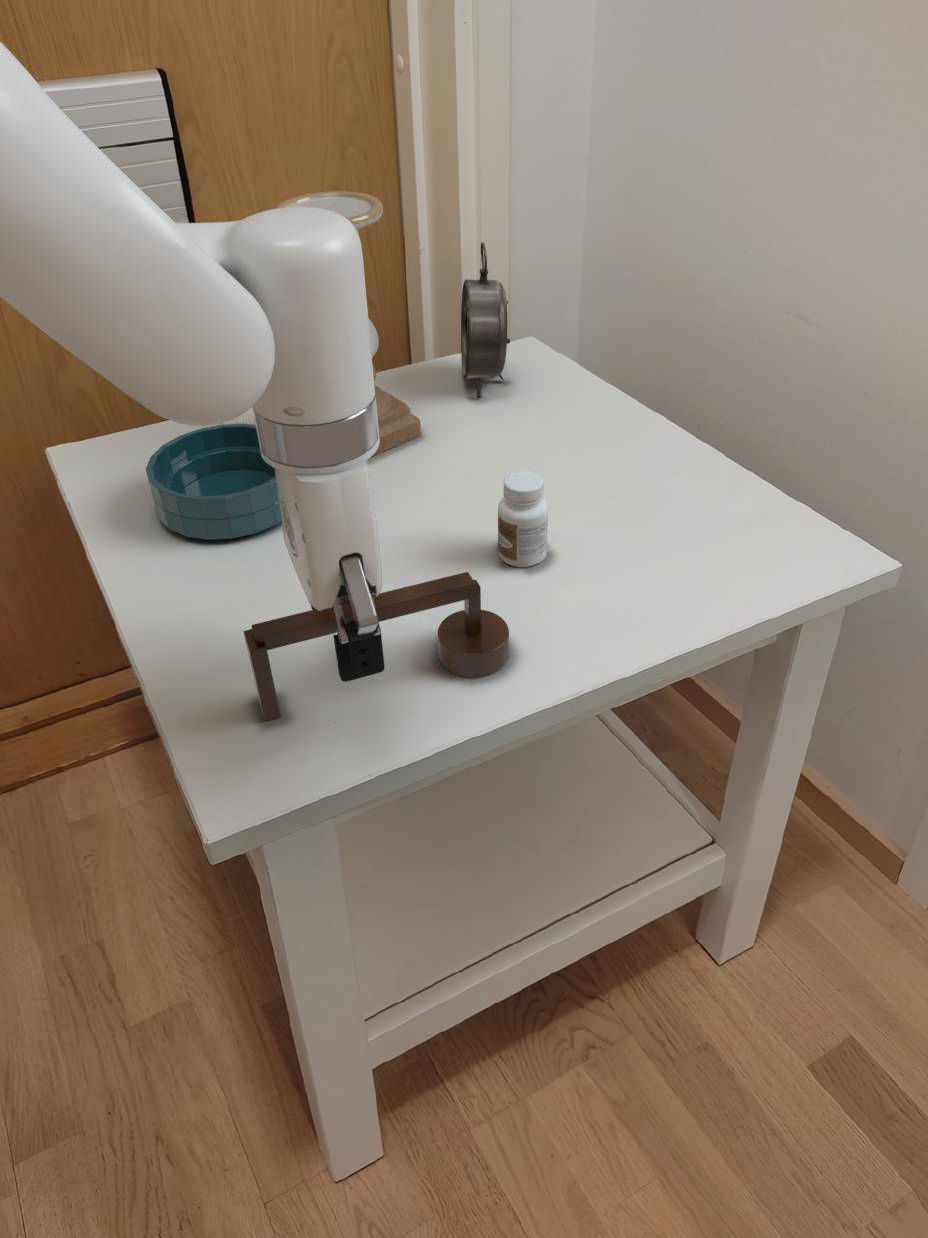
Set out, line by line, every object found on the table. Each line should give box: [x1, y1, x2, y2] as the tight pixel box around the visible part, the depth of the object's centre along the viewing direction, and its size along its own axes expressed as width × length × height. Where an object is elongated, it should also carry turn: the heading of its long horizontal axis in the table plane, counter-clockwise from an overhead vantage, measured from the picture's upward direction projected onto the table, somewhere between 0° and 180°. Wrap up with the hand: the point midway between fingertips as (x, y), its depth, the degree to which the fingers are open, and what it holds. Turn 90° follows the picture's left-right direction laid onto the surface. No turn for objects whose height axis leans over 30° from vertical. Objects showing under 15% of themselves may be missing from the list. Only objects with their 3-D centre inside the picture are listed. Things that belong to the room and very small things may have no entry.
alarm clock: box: [460, 241, 511, 399], centre depth 109 cm, size 11×5×16 cm, turn 3°
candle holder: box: [275, 190, 422, 457], centre depth 97 cm, size 11×11×24 cm
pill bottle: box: [497, 470, 549, 568], centre depth 84 cm, size 4×4×8 cm
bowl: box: [145, 423, 282, 541], centre depth 93 cm, size 14×14×5 cm
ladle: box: [242, 571, 510, 722], centre depth 72 cm, size 20×6×8 cm, turn 111°
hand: (346, 638), depth 70 cm, fingers open, 7 cm apart
